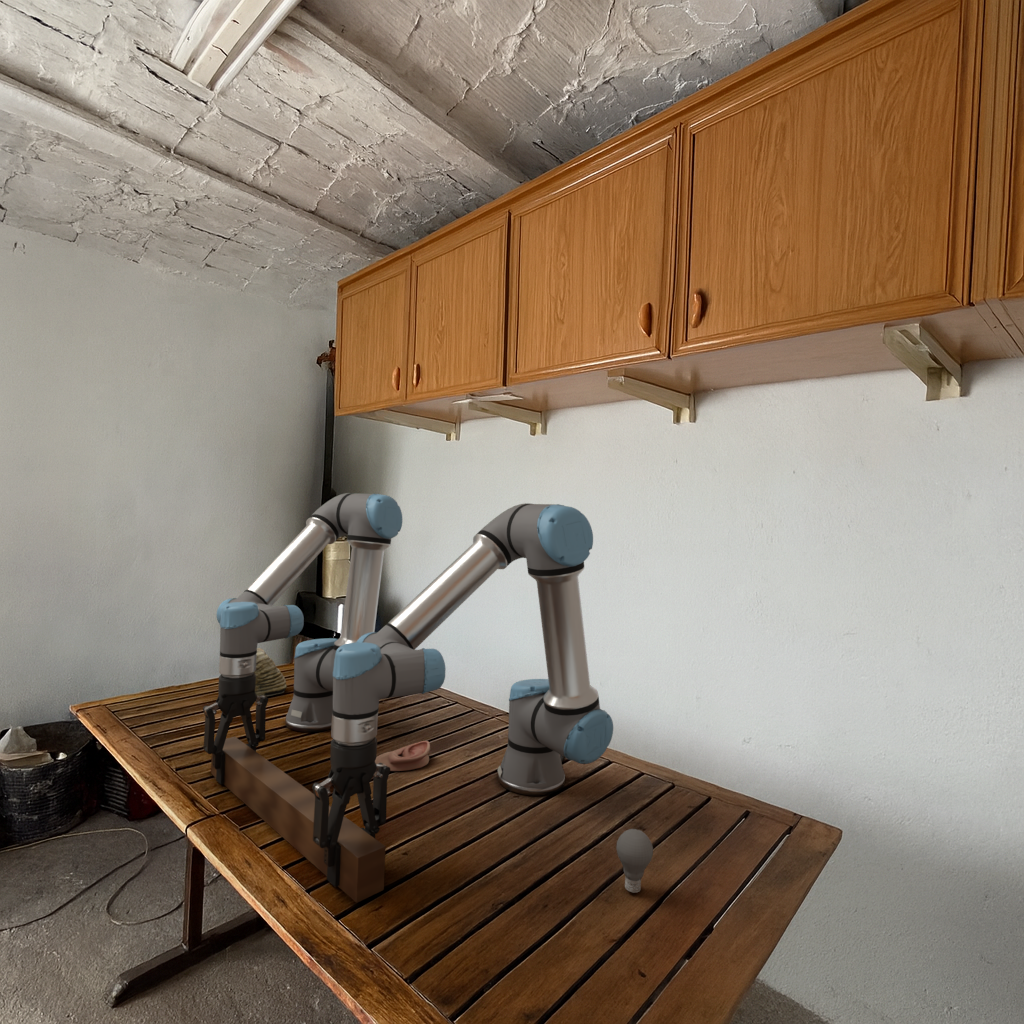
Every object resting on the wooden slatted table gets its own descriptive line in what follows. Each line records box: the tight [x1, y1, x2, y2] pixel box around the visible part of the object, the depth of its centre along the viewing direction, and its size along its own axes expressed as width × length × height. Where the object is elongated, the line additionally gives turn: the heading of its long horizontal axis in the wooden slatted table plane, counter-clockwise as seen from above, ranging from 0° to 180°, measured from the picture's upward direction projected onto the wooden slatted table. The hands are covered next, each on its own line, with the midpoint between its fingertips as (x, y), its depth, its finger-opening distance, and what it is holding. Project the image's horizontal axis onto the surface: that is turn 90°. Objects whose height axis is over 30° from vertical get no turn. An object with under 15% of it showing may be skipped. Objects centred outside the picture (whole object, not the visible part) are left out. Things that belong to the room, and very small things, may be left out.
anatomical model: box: [375, 740, 431, 772], centre depth 153 cm, size 13×4×12 cm
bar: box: [210, 736, 386, 904], centre depth 123 cm, size 61×5×7 cm, turn 45°
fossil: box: [254, 647, 288, 697], centre depth 198 cm, size 9×18×15 cm, turn 132°
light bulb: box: [615, 828, 654, 894], centre depth 106 cm, size 6×6×10 cm
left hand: (233, 778), depth 140 cm, fingers closed on bar, 5 cm apart
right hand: (348, 875), depth 106 cm, fingers closed on bar, 5 cm apart
